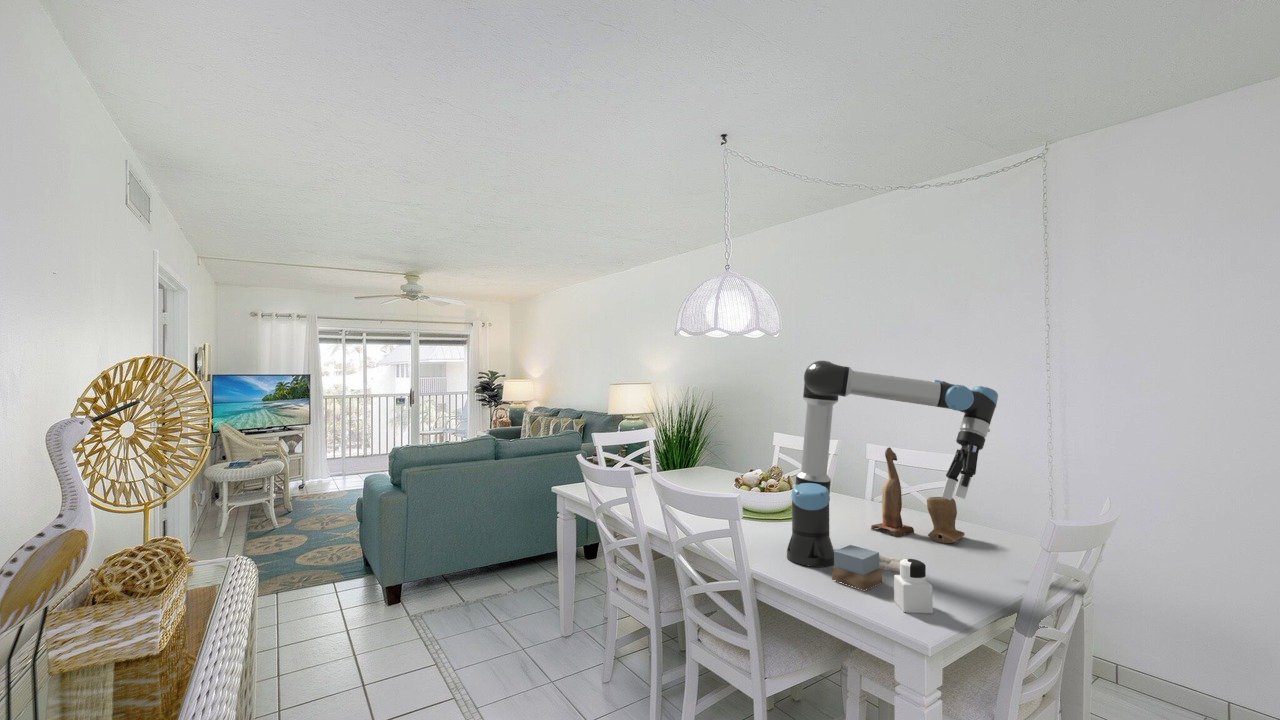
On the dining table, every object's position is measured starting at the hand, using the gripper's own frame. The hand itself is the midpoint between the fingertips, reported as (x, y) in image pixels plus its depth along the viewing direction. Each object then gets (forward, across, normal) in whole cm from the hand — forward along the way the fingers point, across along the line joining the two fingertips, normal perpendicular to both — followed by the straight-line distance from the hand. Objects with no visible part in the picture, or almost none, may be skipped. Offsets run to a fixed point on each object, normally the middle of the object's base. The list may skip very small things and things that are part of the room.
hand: (952, 497), depth 173 cm
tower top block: (+31, -12, +21) cm, 39 cm away
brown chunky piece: (+10, +37, -10) cm, 40 cm away
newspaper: (+28, +8, +14) cm, 32 cm away
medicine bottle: (+35, -26, +8) cm, 44 cm away
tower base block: (+35, -11, +20) cm, 42 cm away
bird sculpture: (+14, +42, +5) cm, 45 cm away
